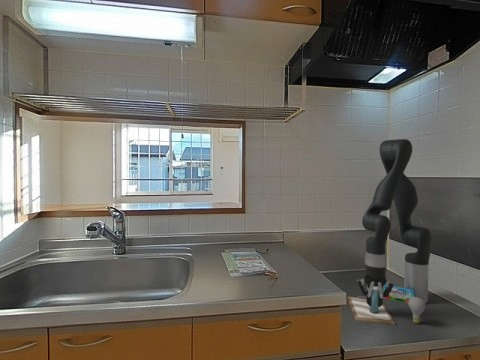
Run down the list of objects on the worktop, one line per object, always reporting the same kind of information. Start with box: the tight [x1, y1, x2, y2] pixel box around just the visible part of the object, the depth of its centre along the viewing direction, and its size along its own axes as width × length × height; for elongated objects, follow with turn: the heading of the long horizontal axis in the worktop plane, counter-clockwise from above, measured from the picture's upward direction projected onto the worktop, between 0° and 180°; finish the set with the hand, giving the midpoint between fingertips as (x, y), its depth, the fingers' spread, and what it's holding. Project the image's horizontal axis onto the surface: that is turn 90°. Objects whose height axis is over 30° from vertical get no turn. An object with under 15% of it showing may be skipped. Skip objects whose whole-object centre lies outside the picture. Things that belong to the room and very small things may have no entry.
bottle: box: [370, 286, 379, 314], centre depth 116 cm, size 3×3×11 cm
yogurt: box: [382, 284, 414, 305], centre depth 129 cm, size 12×2×6 cm, turn 60°
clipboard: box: [347, 295, 396, 326], centre depth 120 cm, size 20×14×2 cm
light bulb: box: [408, 297, 426, 324], centre depth 110 cm, size 6×6×10 cm
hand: (374, 305), depth 116 cm, fingers closed on bottle, 3 cm apart
